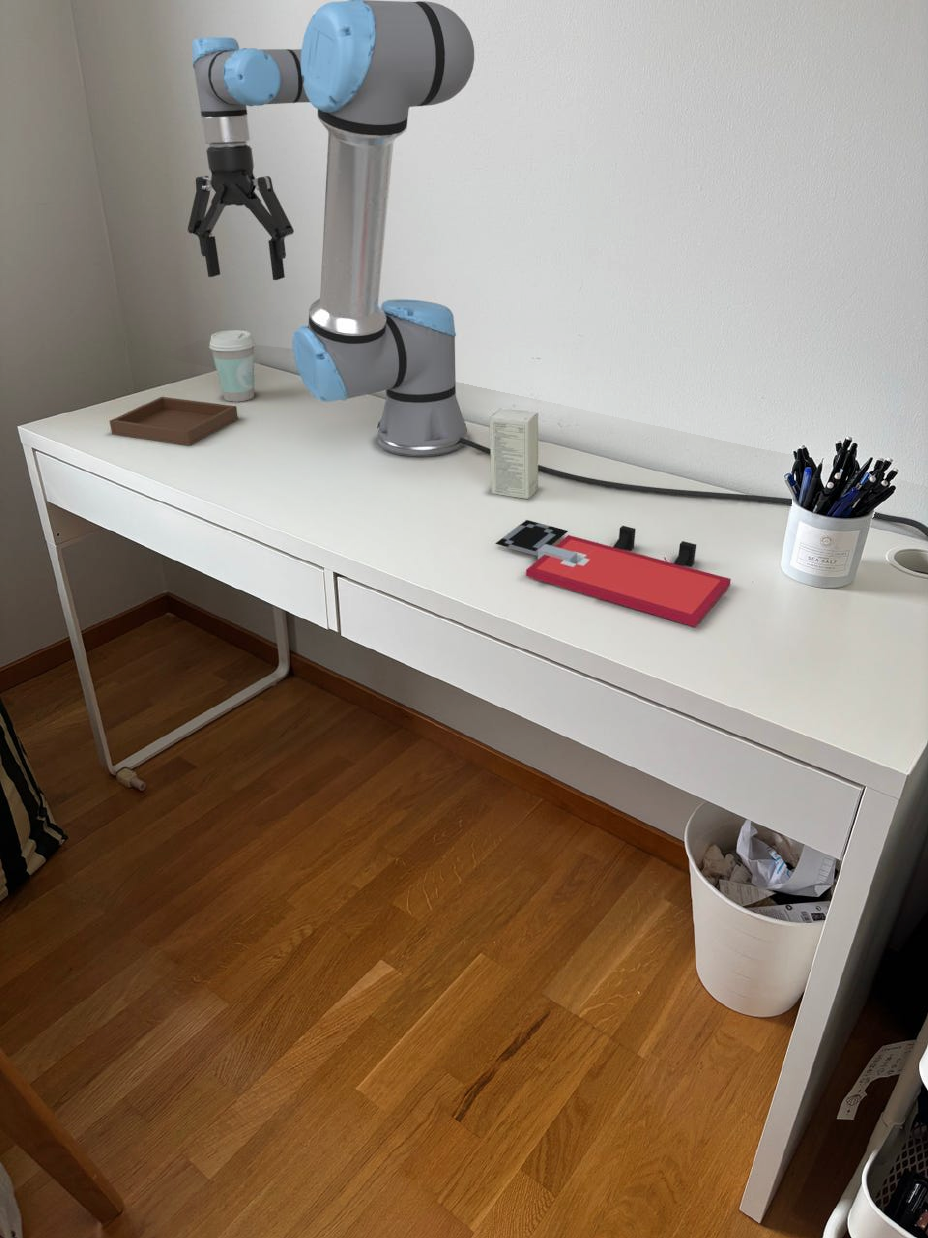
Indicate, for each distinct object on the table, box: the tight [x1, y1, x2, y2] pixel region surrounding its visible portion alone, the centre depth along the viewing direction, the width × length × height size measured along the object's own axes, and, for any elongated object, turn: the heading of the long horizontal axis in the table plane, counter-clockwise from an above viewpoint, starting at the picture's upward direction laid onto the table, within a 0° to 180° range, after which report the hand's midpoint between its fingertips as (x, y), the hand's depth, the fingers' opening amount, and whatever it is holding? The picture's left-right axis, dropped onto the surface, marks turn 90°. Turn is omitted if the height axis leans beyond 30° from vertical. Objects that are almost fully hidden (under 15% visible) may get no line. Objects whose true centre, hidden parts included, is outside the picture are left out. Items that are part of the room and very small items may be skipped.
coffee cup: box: [208, 329, 256, 403], centre depth 183 cm, size 8×8×12 cm
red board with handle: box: [494, 519, 732, 628], centre depth 122 cm, size 30×3×15 cm
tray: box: [109, 396, 239, 447], centre depth 171 cm, size 17×15×2 cm
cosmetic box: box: [489, 408, 539, 500], centre depth 141 cm, size 6×4×12 cm
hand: (246, 277), depth 171 cm, fingers open, 13 cm apart
